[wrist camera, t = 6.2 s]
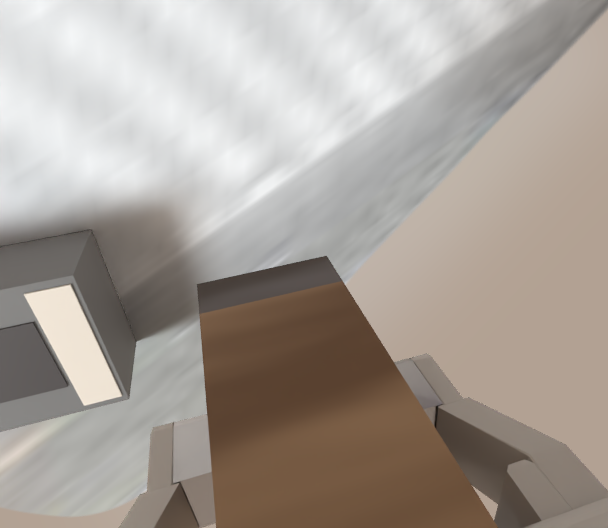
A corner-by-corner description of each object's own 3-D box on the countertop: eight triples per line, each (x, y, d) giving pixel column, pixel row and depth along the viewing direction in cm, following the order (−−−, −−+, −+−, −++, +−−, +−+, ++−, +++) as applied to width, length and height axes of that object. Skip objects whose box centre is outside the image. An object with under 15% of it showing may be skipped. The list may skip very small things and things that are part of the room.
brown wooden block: (197, 284, 12) (239, 823, 4) (326, 255, 13) (589, 670, 5) (223, 379, 15) (287, 867, 6) (334, 350, 15) (526, 756, 7)
